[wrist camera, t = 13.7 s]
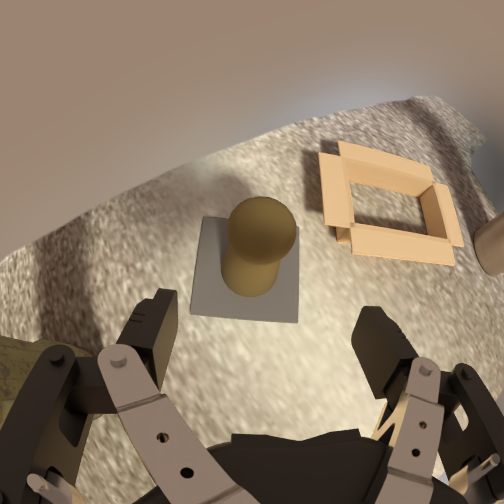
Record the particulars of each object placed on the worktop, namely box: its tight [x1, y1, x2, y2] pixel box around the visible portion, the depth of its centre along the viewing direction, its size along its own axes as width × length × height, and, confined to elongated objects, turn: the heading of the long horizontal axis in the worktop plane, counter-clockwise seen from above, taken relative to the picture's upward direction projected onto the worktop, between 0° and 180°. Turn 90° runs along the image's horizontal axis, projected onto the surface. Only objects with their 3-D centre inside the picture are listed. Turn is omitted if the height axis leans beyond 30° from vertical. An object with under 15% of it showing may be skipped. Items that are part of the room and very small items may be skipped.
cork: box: [221, 196, 297, 297], centre depth 24 cm, size 6×6×11 cm
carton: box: [318, 140, 464, 266], centre depth 33 cm, size 22×16×4 cm
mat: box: [190, 217, 299, 323], centre depth 30 cm, size 11×11×1 cm
